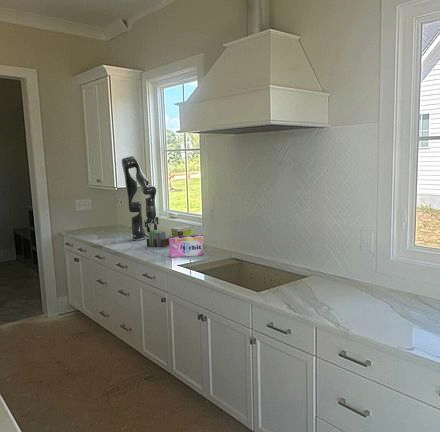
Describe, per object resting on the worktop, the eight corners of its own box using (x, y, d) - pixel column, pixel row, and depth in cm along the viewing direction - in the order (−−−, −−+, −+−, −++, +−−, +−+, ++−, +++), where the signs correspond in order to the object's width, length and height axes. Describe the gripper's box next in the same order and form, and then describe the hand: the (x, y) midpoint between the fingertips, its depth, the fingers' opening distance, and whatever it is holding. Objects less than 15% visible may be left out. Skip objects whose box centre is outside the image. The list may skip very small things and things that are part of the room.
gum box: (204, 252, 301) (203, 234, 299) (204, 255, 293) (203, 236, 291) (170, 255, 295) (169, 236, 294) (169, 257, 288) (168, 238, 286)
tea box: (188, 243, 337) (187, 225, 335) (195, 244, 330) (194, 226, 328) (172, 246, 327) (171, 227, 325) (178, 247, 320) (177, 229, 318)
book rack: (155, 245, 332) (154, 236, 331) (170, 246, 327) (170, 237, 326) (146, 247, 323) (146, 238, 322) (162, 248, 318) (162, 239, 317)
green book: (154, 244, 330) (153, 229, 328) (155, 244, 329) (154, 229, 327) (149, 246, 324) (148, 231, 322) (150, 246, 324) (149, 231, 322)
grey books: (161, 244, 328) (161, 231, 326) (166, 245, 326) (165, 231, 325) (156, 246, 322) (155, 232, 320) (160, 246, 320) (160, 232, 319)
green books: (156, 244, 329) (155, 229, 327) (160, 244, 328) (159, 230, 326) (151, 246, 323) (150, 231, 322) (155, 246, 322) (154, 231, 320)
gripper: (148, 212, 315) (150, 233, 318) (160, 209, 328) (161, 229, 331) (140, 212, 318) (142, 232, 320) (152, 209, 331) (154, 229, 333)
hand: (152, 231), depth 325 cm, fingers open, 8 cm apart
